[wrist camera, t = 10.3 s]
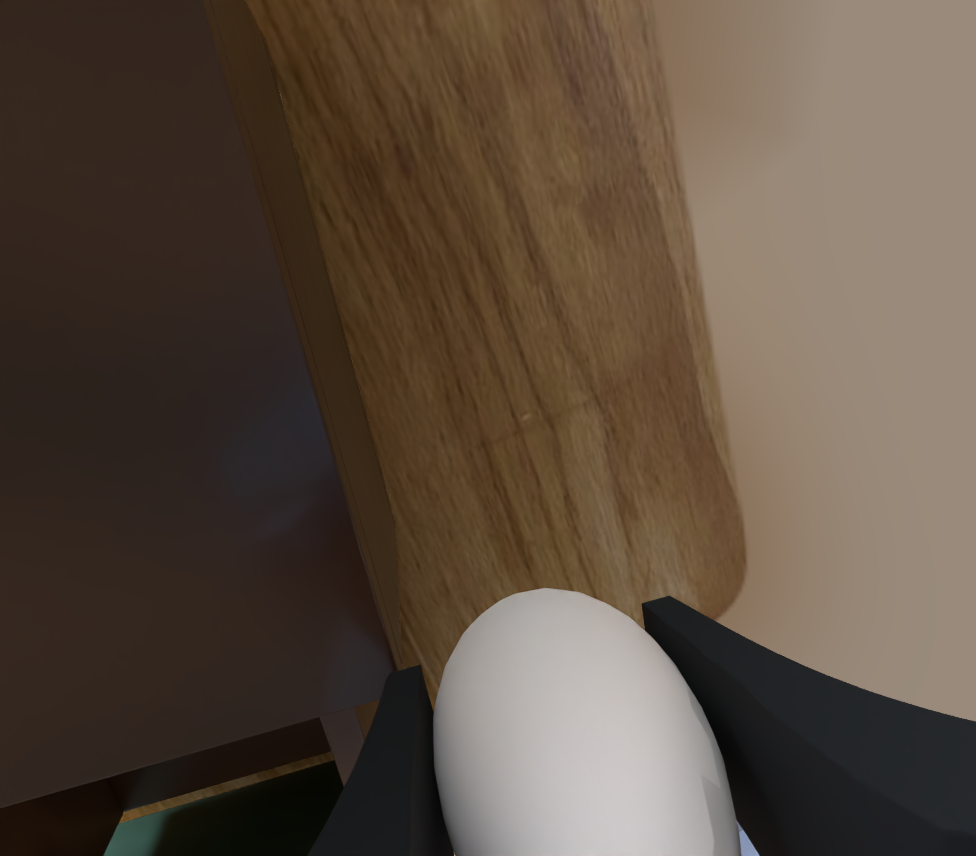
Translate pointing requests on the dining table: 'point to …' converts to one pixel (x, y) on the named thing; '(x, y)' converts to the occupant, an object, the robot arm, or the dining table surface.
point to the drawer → (207, 822)
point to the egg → (574, 739)
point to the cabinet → (171, 405)
